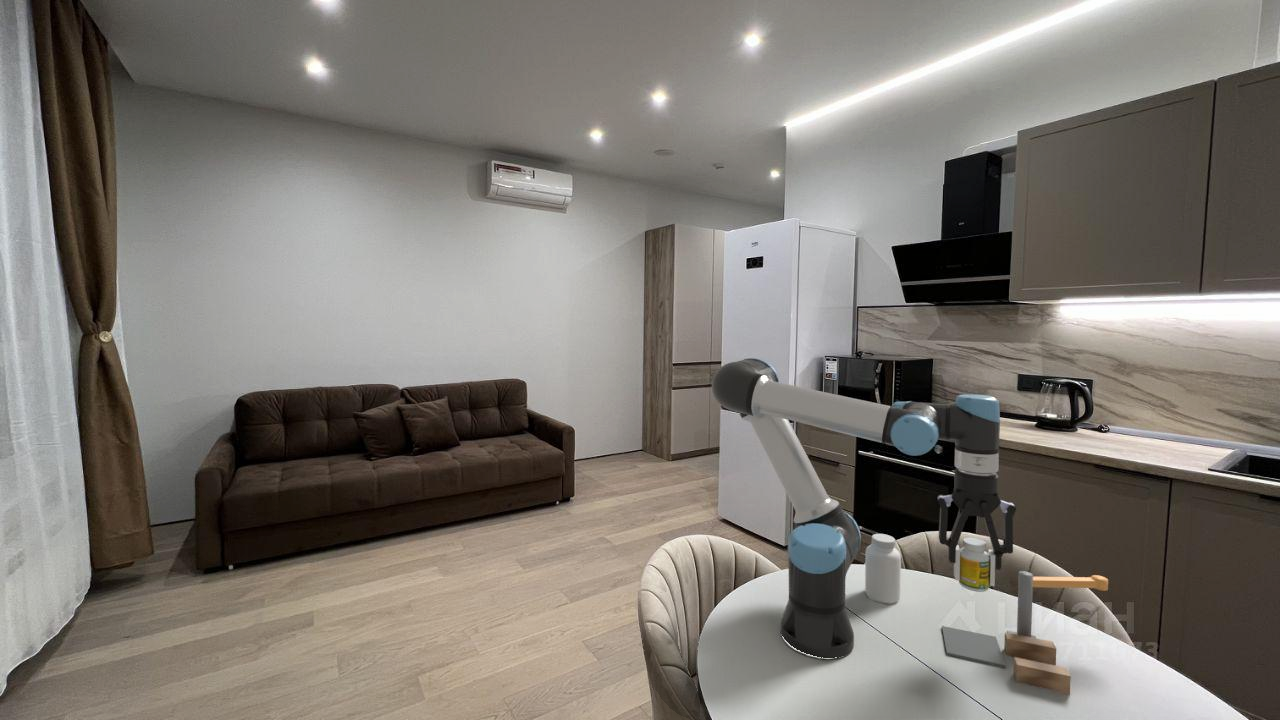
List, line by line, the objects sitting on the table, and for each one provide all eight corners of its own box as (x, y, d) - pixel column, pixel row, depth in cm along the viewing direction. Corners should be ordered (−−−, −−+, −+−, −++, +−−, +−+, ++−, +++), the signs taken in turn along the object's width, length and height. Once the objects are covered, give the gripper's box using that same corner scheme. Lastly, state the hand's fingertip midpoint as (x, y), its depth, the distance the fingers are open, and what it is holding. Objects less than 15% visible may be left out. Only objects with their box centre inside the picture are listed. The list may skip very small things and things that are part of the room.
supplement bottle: (965, 577, 110) (966, 533, 109) (994, 587, 106) (995, 542, 105) (953, 584, 107) (954, 540, 107) (981, 595, 103) (982, 549, 102)
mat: (946, 654, 105) (946, 652, 105) (941, 627, 114) (941, 625, 114) (1005, 667, 101) (1005, 665, 101) (995, 638, 110) (995, 636, 110)
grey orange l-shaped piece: (1108, 644, 105) (1111, 578, 104) (1021, 642, 107) (1024, 576, 106) (1098, 636, 108) (1101, 571, 107) (1013, 634, 109) (1015, 570, 108)
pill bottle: (901, 592, 129) (902, 535, 128) (898, 608, 122) (899, 547, 121) (867, 584, 133) (868, 528, 132) (862, 599, 127) (863, 540, 125)
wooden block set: (1016, 682, 97) (1017, 664, 97) (998, 632, 112) (998, 616, 112) (1070, 694, 93) (1070, 676, 93) (1043, 641, 109) (1044, 625, 108)
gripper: (926, 471, 105) (924, 580, 107) (1036, 480, 97) (1032, 598, 99) (923, 461, 112) (922, 564, 114) (1026, 470, 104) (1023, 580, 106)
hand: (973, 579), depth 106 cm, fingers closed on supplement bottle, 5 cm apart
